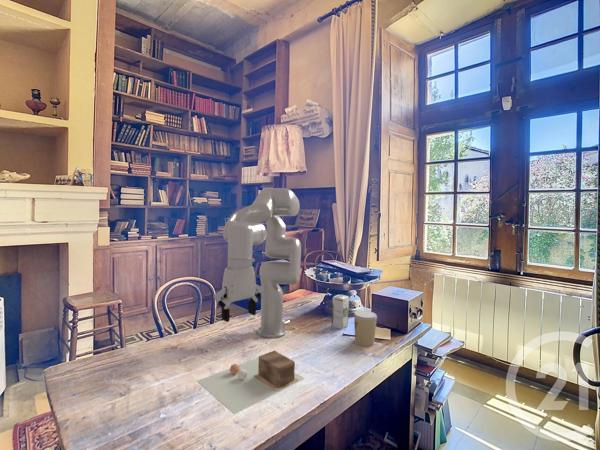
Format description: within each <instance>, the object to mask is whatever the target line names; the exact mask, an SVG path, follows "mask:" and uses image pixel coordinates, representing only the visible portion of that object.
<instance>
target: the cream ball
mask: <svg viewBox="0 0 600 450" xmlns="http://www.w3.org/2000/svg"><path fill="white" fill-rule="evenodd" d="M237 375H238V378H239V379H241V380H243V379H245V378H246V377H247V371H246V370H245V369H241V370H239V371H238V374H237Z"/></svg>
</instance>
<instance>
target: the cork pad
mask: <svg viewBox="0 0 600 450" xmlns="http://www.w3.org/2000/svg"><path fill="white" fill-rule="evenodd" d="M254 377H255V378H257V379H258V380H259V381H261V382H262V383H264V384H265V385H267V386H268V387H270V388H271V389H273V390H274V391H278V390H281V389H283V388H285V387H287V386H289V385H291V384H293V383H295V382H297V381H298V379H296V378H295V377H294V381H292V382H290V383H288V384H286V385H284V386H282V387H280V388H278V387H276V386H274V385H273V384H271V383H270V382H268V381H267V380H265V379H264V378H262V377H261V376H259V375H258V374H257V375H255V376H254ZM297 383H298V382H297ZM295 384H296V383H295ZM293 385H294V384H293ZM291 386H292V385H291ZM289 387H290V386H289ZM287 388H288V387H287ZM285 389H286V388H285ZM283 390H284V389H283ZM281 391H282V390H281Z"/></svg>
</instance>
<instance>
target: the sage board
mask: <svg viewBox="0 0 600 450" xmlns="http://www.w3.org/2000/svg"><path fill="white" fill-rule="evenodd" d="M237 365H238V366H239V370H241V369H245V370H246V371H247V377H246V378H245V379H243V380H241V379H239V378H238V375H237V374H238V373H237V374H232V373H231V372H230V368H228V369H225V370H222V371H220V372H217V373H215V374H212V375H209V376H206V377H204V378H201V379H199V380H197V381H196V382H197V383H198V384H199V385H201V386H202V387H203V388H204V389H205V390H206V391H208V393H210V395H212V396H213V397H214V398H215V399H216V400H218V401H219V402H220V403H221V404H222V405H223V406H224V407H225V408H227V410H228V411H230V412H231V413H232V414H233V415H236V414H238V413H239V412H241V411H243V410H245V409H248V408H250V407H252V406H253V405H255V404H257V403H260V402H261V401H263V400H265V399H267V398H269V397H271V396H273V395H275V394H278V393H280V392H282V391H283V390H285V389H287V388H289V387H291V386H293V385H295V384H298V383H299V382H301V381H304V380H305V379H306V377H304V376H301V375H300V374H298V373H296V372H294V377H295V378H296V379H298V381H297V382H295V383H293V384H291V385H289V386H287V387H285V388H283V389H281V390H278V391H274V390H273V389H271V388H270V387H268V386H267V385H265V384H264V383H262V382H261V381H259V380H258V379H257V378H255V377H254V376H255V375H257V374H258V367H259V357H257V358H253V359H252V360H249V361H246V362H243V363H240V364H237Z"/></svg>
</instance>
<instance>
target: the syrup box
mask: <svg viewBox="0 0 600 450" xmlns="http://www.w3.org/2000/svg"><path fill="white" fill-rule="evenodd" d="M349 301H350V297H349V296H348V295H345V294H337V295H334V296H332V305H331V325H330V326H331V327H332V328H335V329H339V330H343V329H345V328H347V327H348V325H349V306H350V305H349Z"/></svg>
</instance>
